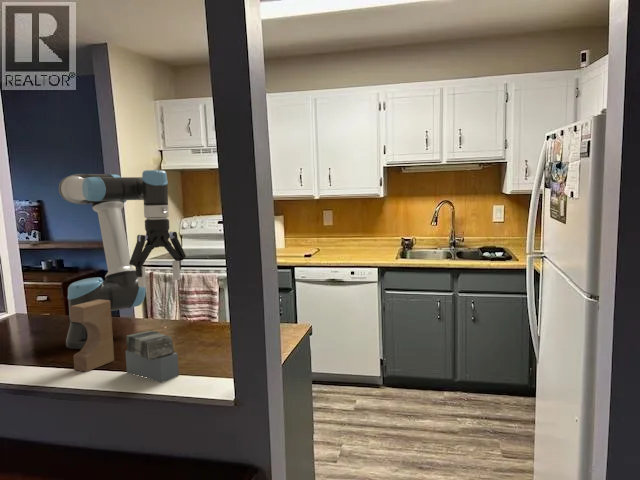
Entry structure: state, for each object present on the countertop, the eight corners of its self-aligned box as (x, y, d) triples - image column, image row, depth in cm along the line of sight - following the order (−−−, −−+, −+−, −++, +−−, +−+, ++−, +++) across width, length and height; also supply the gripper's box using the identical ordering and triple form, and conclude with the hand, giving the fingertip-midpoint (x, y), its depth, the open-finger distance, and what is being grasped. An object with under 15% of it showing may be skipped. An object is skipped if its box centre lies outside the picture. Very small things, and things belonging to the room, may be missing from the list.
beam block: (126, 373, 147) (125, 350, 146) (143, 367, 152) (142, 345, 151) (162, 383, 138) (160, 359, 137) (178, 376, 143) (177, 353, 142)
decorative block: (85, 372, 148) (81, 307, 146) (73, 370, 150) (68, 306, 149) (115, 361, 158) (111, 300, 156) (103, 359, 160) (98, 299, 159)
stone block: (155, 344, 153) (154, 327, 152) (177, 353, 142) (176, 335, 142) (126, 350, 146) (125, 333, 146) (147, 361, 136) (146, 342, 136)
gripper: (129, 221, 145) (133, 291, 148) (194, 216, 166) (197, 278, 168) (115, 220, 150) (118, 288, 152) (179, 216, 170) (182, 276, 172)
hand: (160, 283), depth 160 cm, fingers open, 13 cm apart
